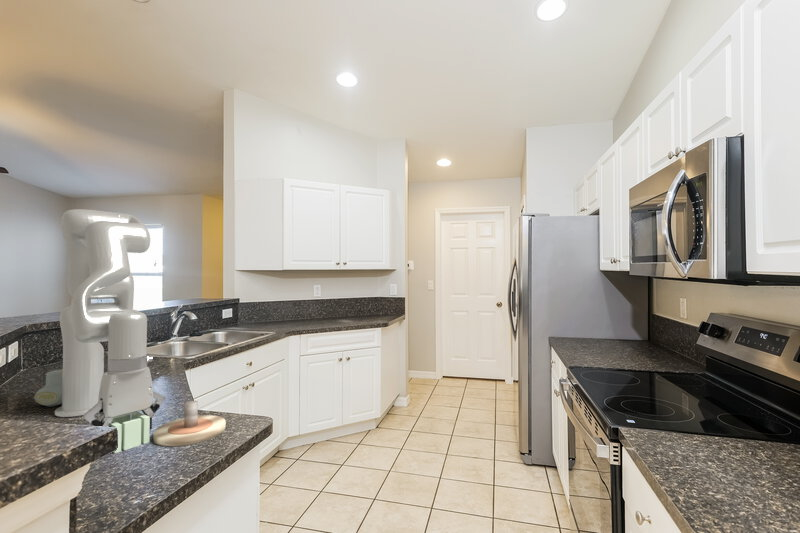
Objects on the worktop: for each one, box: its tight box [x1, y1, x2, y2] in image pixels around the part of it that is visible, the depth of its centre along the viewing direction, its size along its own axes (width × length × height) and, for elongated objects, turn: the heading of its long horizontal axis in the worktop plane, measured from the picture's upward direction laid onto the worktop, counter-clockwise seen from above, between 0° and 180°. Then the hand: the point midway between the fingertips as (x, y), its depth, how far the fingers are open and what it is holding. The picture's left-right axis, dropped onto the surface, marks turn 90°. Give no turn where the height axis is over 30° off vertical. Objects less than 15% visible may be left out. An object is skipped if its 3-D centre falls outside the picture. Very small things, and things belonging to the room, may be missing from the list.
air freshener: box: [34, 368, 63, 407], centre depth 121 cm, size 11×8×10 cm
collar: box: [109, 411, 151, 454], centre depth 91 cm, size 7×7×6 cm
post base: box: [152, 400, 227, 447], centre depth 97 cm, size 16×16×8 cm
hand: (126, 439), depth 91 cm, fingers open, 7 cm apart
